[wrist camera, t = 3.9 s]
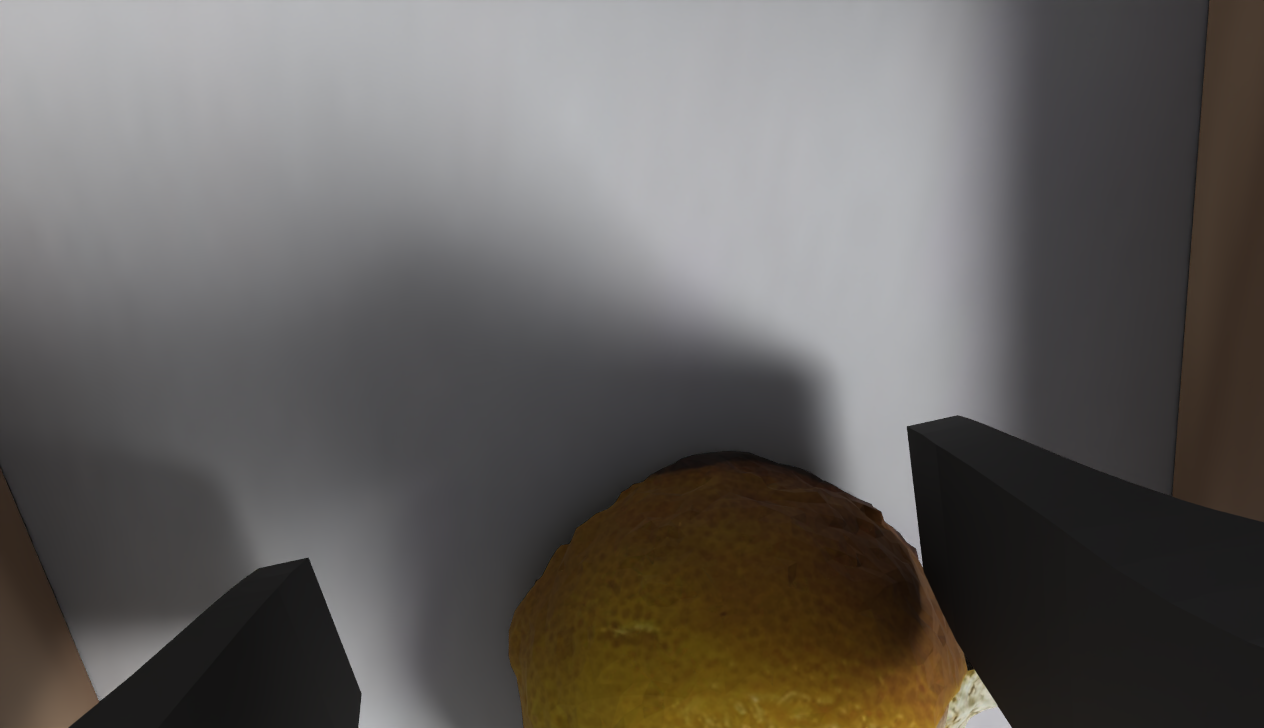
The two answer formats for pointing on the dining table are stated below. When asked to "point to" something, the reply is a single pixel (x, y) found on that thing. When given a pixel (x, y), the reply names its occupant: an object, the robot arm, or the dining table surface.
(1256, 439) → the open wooden frame
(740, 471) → the fruit
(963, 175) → the dining table surface
